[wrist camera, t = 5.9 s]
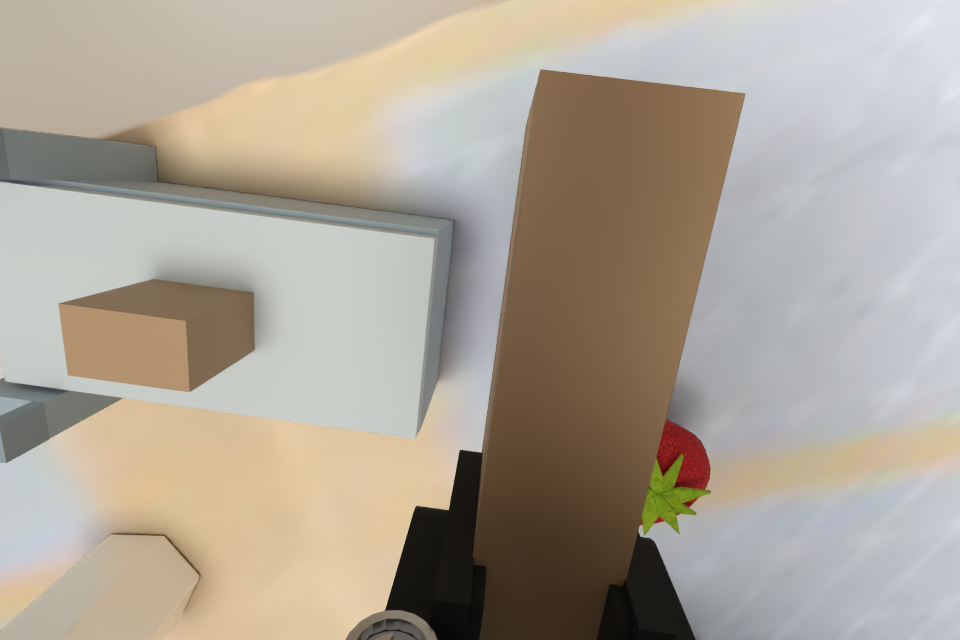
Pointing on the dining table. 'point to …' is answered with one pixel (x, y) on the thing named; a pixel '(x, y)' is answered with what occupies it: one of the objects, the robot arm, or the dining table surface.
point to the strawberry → (676, 477)
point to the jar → (112, 594)
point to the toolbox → (133, 171)
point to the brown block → (591, 338)
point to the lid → (215, 307)
